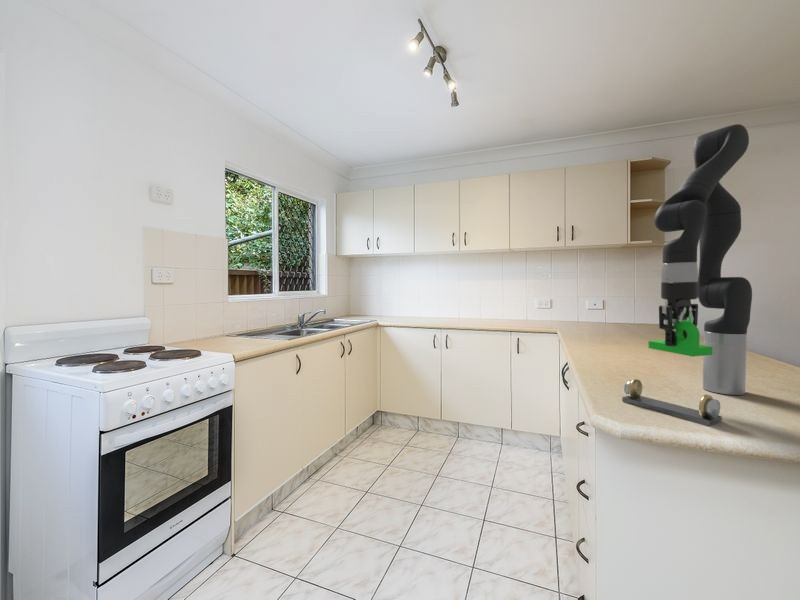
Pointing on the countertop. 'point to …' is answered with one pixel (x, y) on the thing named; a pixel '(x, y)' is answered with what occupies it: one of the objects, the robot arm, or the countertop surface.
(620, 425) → the countertop surface
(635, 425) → the countertop surface
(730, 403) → the countertop surface
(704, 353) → the mechanical part
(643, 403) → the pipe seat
